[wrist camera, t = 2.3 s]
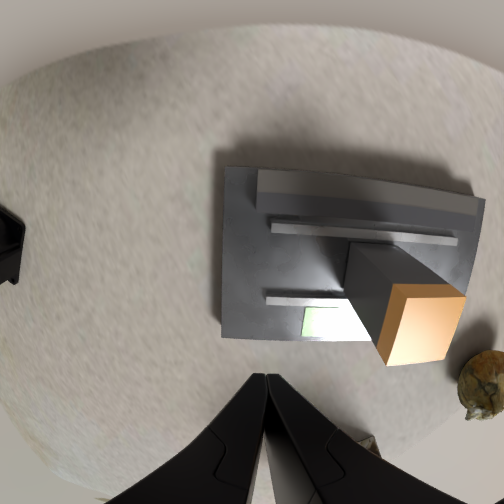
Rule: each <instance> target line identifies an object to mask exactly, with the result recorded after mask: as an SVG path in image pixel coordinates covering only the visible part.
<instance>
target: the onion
mask: <svg viewBox="0 0 504 504" xmlns="http://www.w3.org/2000/svg"><path fill="white" fill-rule="evenodd" d="M457 389H458V396H459V400H460V403H461V404H462V405H463V406H464V407H465V408H467V409H468V410H467V414H466V417H465V419H466V420H467V421H471V420H473V419H478V420H487V419H492V418H493V417H494V416H496V415H497V414H498V413H499V412H502V411H503V410H504V407H503V406H504V352H501V351H496V350H486V351H484V352H482V353H480V354H478V355H476V356H474V357H473V358H471V359H470V360H469V361H468V362H467V363H466V364H465V366H464V368H463V369H462V371H461V374H460V377H459V381H458V387H457Z"/></svg>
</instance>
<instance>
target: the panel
mask: <svg viewBox="0 0 504 504" xmlns="http://www.w3.org/2000/svg"><path fill="white" fill-rule="evenodd" d="M258 169H271V170H286V171H299V172H310V173H321V174H331V175H340V176H349V177H357V178H365V179H373V180H380V181H387V182H394V183H400V184H407V185H413V186H419V187H424V188H430V189H435V190H441V191H446V192H451V193H456V194H461V195H466V194H462V193H457V192H452V191H447V190H442V189H437V188H431V187H426V186H420V185H414V184H408V183H402V182H396V181H389V180H383V179H375V178H368V177H360V176H352V175H344V174H335V173H325V172H315V171H304V170H291V169H277V168H261V167H241V166H225V182H224V210H223V247H222V318H221V338H234V339H253V340H279V341H358V340H371V338H370V336H369V335H368V333H367V331H366V330H365V328H364V326H363V324H362V323H361V321H360V319H359V318H358V316H357V314H356V312H355V311H354V309H353V307H352V306H351V304H350V302H349V301H348V299H347V297H346V296H345V294H344V292H343V288H344V282H345V276H346V270H347V264H348V257H349V250H350V243H351V242H356V243H371V244H385V245H397V246H399V247H400V248H401V249H403V250H404V251H406V252H407V253H409V254H410V255H411V256H413V257H414V258H416V259H417V260H418V261H420V262H421V263H423V264H424V265H425V266H427V267H428V268H429V269H431V270H432V271H433V272H435V273H436V274H437V275H439V276H440V277H441V278H443V279H444V280H445V281H447V282H448V283H449V284H451V285H452V286H453V287H455V288H456V289H457V290H458V291H460V292H461V293H462V294H463V295H465V294H466V291H467V287H468V284H469V280H470V276H471V273H472V269H473V265H474V260H475V256H476V252H477V247H478V242H479V237H480V232H481V227H482V221H483V215H484V208H485V201H486V199H483V198H479V197H475V196H471V195H466V196H470V197H474V198H477V199H479V200H478V207H477V214H476V220H475V226H474V232H468V231H460V230H452V229H444V228H436V227H427V226H418V225H409V224H399V223H389V222H379V221H368V220H357V219H345V218H332V217H319V216H305V215H290V214H274V213H256V199H257V180H258Z"/></svg>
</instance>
